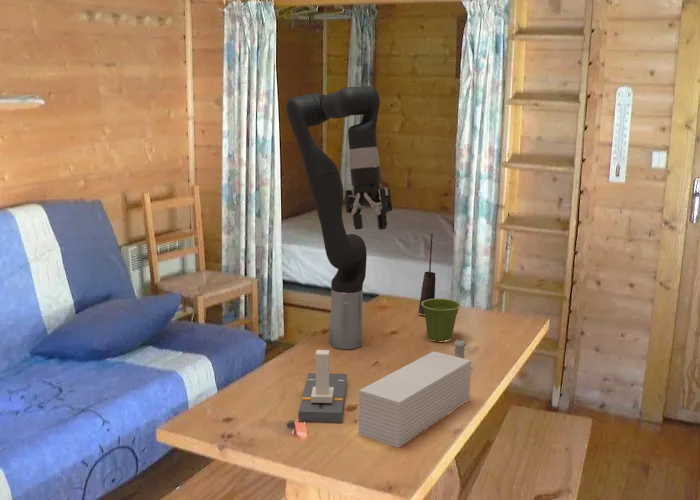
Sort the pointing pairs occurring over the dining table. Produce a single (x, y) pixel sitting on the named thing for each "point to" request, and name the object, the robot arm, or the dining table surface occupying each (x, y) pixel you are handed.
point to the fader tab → (322, 379)
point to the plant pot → (440, 318)
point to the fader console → (323, 410)
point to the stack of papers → (413, 398)
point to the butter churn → (428, 284)
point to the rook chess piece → (459, 348)
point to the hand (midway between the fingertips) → (370, 229)
